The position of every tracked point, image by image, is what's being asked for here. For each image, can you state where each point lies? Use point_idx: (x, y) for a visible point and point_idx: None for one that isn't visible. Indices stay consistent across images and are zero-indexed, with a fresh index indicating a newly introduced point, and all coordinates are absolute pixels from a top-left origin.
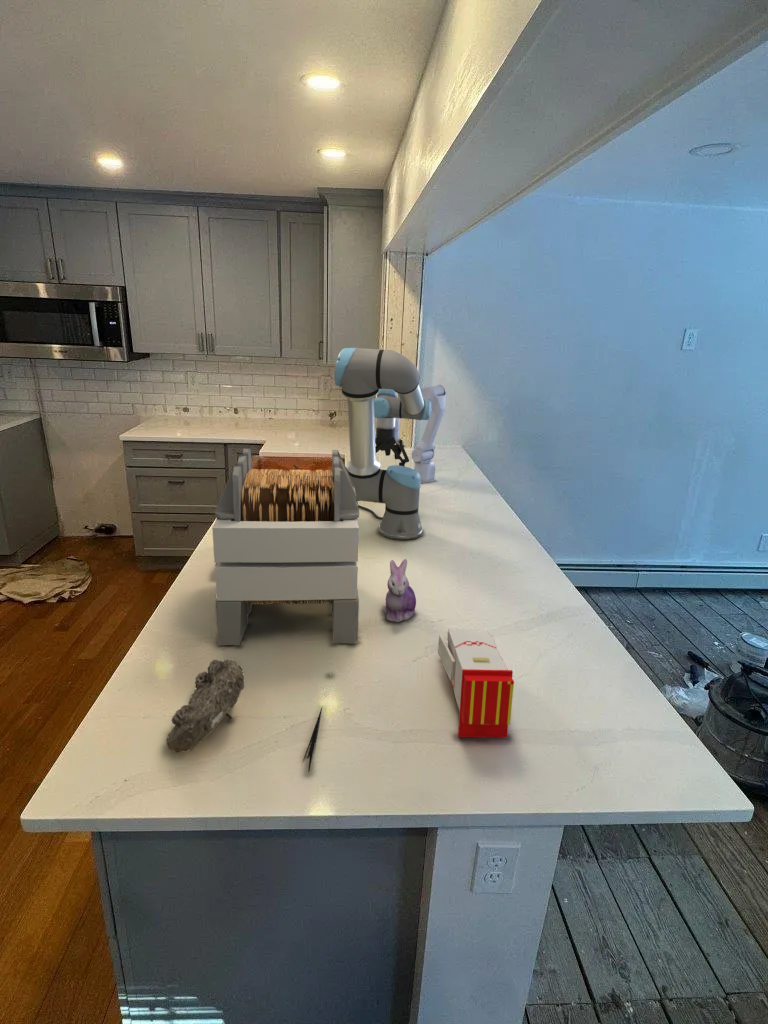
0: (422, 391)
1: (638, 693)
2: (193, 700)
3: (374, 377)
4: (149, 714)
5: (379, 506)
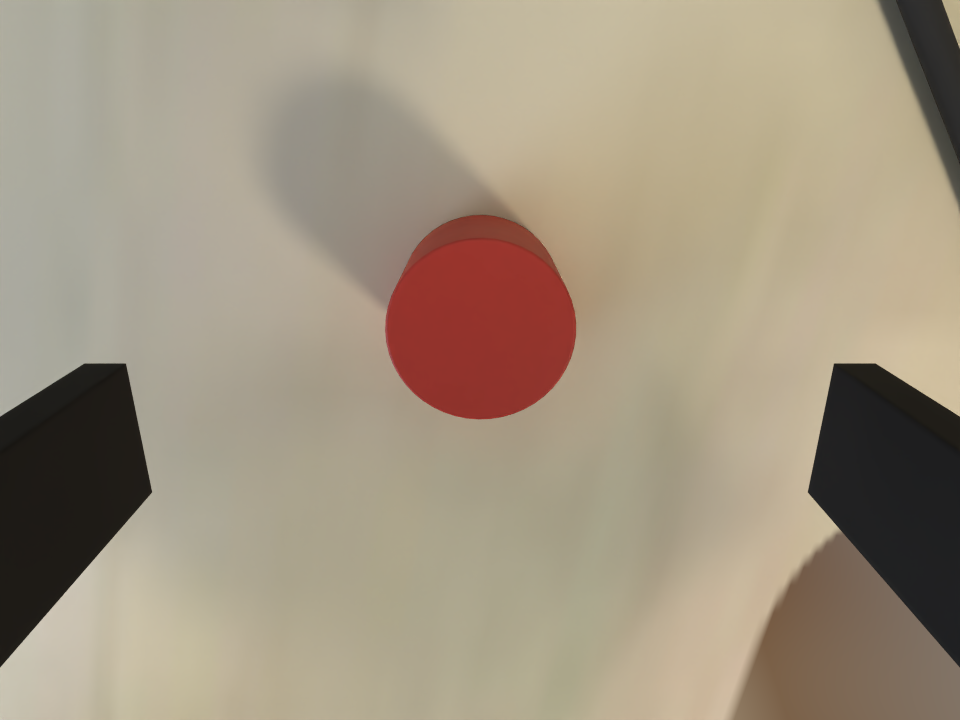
0: None
1: None
2: None
3: None
4: None
5: (575, 31)
